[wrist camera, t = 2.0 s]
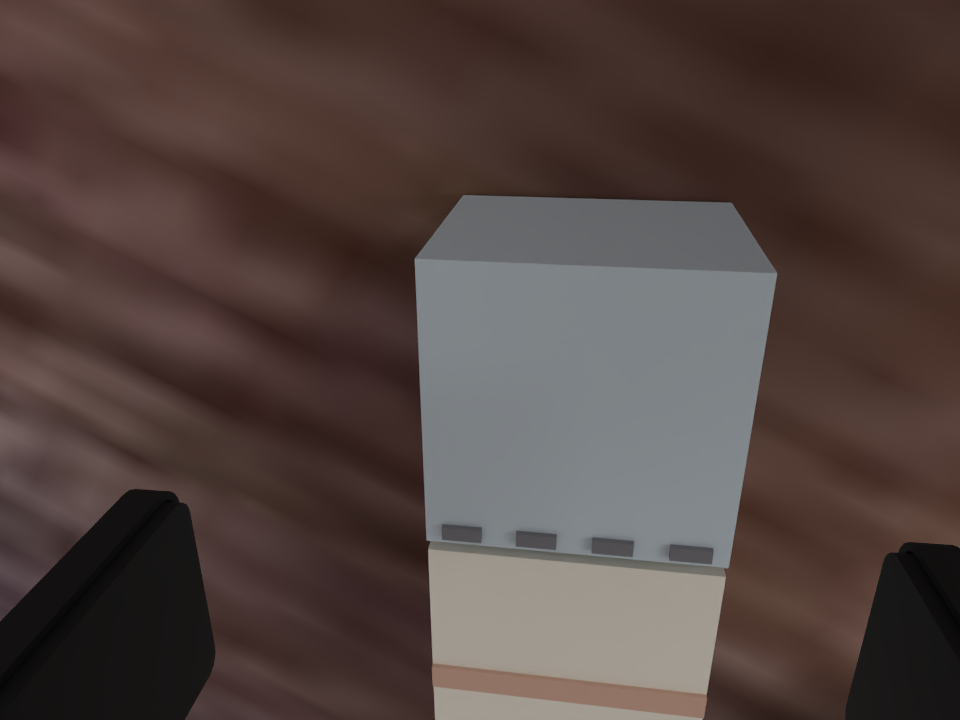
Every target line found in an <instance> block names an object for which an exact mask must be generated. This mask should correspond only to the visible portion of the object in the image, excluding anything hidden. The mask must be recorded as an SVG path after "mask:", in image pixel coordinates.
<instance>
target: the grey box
mask: <svg viewBox="0 0 960 720" xmlns="http://www.w3.org/2000/svg"><path fill="white" fill-rule="evenodd" d="M776 278H777V272H776V271H775V269H774V268H773V266H772V264H771V263H770V261H769V260H768V258H767V257H766V255H765V254H764V252H763V251H762V249H761V247H760V246H759V244H758V243H757V241H756V240H755V238H754V237H753V235H752V233H751V232H750V230H749V229H748V227H747V226H746V224H745V223H744V221H743V220H742V218H741V216H740V215H739V213H738V212H737V210H736V209H735V207H734V206H733V204H732V203H724V202H689V201H654V200H619V199H584V198H548V197H513V196H478V195H463V196H462V197H461V199H460V200H459V201H458V203H457V204H456V205H455V207H454V208H453V209H452V211H451V212H450V213H449V215H448V216H447V217H446V218H445V220H444V221H443V222H442V224H441V225H440V226H439V228H438V229H437V230H436V232H435V233H434V234H433V235H432V237H431V238H430V239H429V241H428V242H427V243H426V245H425V246H424V247H423V249H422V250H421V251H420V252H419V254H418V255H417V256H416V258H415V279H416V303H417V326H418V350H419V374H420V397H421V421H422V445H423V469H424V492H425V516H426V540H427V541H436V542H447V543H458V544H469V545H480V546H491V547H502V548H513V549H524V550H535V551H545V552H556V553H567V554H578V555H589V556H600V557H611V558H622V559H633V560H643V561H654V562H665V563H676V564H687V565H698V566H709V567H720V568H729V563H730V557H731V551H732V545H733V539H734V533H735V527H736V521H737V515H738V509H739V502H740V496H741V490H742V484H743V478H744V472H745V466H746V460H747V454H748V448H749V442H750V436H751V430H752V424H753V418H754V412H755V405H756V399H757V393H758V387H759V381H760V375H761V369H762V363H763V357H764V351H765V345H766V339H767V333H768V327H769V321H770V315H771V309H772V302H773V296H774V290H775V284H776Z"/></svg>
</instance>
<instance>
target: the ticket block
mask: <svg viewBox="0 0 960 720" xmlns="http://www.w3.org/2000/svg"><path fill="white" fill-rule="evenodd" d="M428 560H429V585H430V609H431V633H432V657H433V664H432V682H433V687H434V706H435V720H703V718H704V715H705V709H706V703H707V689H708V683H709V677H710V671H711V665H712V659H713V653H714V647H715V641H716V634H717V628H718V622H719V616H720V610H721V604H722V598H723V592H724V586H725V580H726V575H725V570H724V568H720V567H709V566H698V565H687V564H676V563H665V562H654V561H643V560H633V559H622V558H611V557H600V556H589V555H578V554H567V553H556V552H545V551H535V550H524V549H513V548H502V547H491V546H480V545H469V544H458V543H447V542H436V541H431V542H430V545H429V548H428Z"/></svg>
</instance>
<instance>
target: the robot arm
mask: <svg viewBox="0 0 960 720" xmlns="http://www.w3.org/2000/svg"><path fill="white" fill-rule="evenodd" d="M214 660H215V644H214V639H213V633H212V628H211V623H210V617H209V612H208V607H207V601H206V596H205V590H204V585H203V580H202V574H201V569H200V563H199V558H198V553H197V547H196V542H195V537H194V531H193V526H192V520H191V515H190V511H189V508H188V506H187V505H186V504H184V503H179V500H178V497H177V496H176V495H175V493H172V492H169V491H155V490H140V489H133V490H129V491H128V492H126V493H125V494H124V495H123V496H122V497H121V498H120V499H119V500H118V501H117V502H116V503H115V504H114V505H113V506H112V507H111V508H110V509H109V510H108V511H107V512H106V513H105V514H104V515H103V516H102V517H101V518H100V520H99V521H98V522H97V523H96V524H95V525H94V526H93V527H92V528H91V529H90V530H89V531H88V532H87V533H86V534H85V535H84V536H83V537H82V538H81V539H80V540H79V541H78V542H77V543H76V544H75V545H74V546H73V547H72V548H71V549H70V550H69V551H68V552H67V553H66V555H65V556H64V557H63V558H62V559H61V560H60V561H59V562H58V563H57V564H56V565H55V566H54V567H53V568H52V569H51V570H50V571H49V572H48V573H47V574H46V575H45V576H44V577H43V578H42V579H41V580H40V581H39V582H38V583H37V584H36V585H35V586H34V587H33V588H32V589H31V591H30V592H29V593H28V594H27V595H26V596H25V597H24V598H23V599H22V600H21V601H20V602H19V603H18V604H17V605H16V606H15V607H14V608H13V609H12V610H11V611H10V612H9V613H8V614H7V615H6V616H5V617H4V618H3V619H2V620H1V621H0V720H185V718H186V716H187V715H188V713H189V711H190V709H191V708H192V706H193V704H194V702H195V701H196V699H197V697H198V695H199V694H200V692H201V690H202V688H203V687H204V685H205V683H206V681H207V679H208V678H209V676H210V674H211V671H212V668H213V665H214ZM846 720H960V548H959V547H957V546H954V545H944V544H929V543H914V542H907V543H904V544H903V545H902V546H901V548H900V550H899V552H898V553H888V554H887V556H886V557H885V559H884V562H883V566H882V570H881V574H880V577H879V581H878V585H877V589H876V593H875V597H874V601H873V604H872V608H871V612H870V616H869V620H868V624H867V628H866V631H865V635H864V639H863V643H862V647H861V651H860V655H859V658H858V662H857V666H856V670H855V674H854V678H853V682H852V685H851V689H850V693H849V697H848V701H847V705H846Z"/></svg>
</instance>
